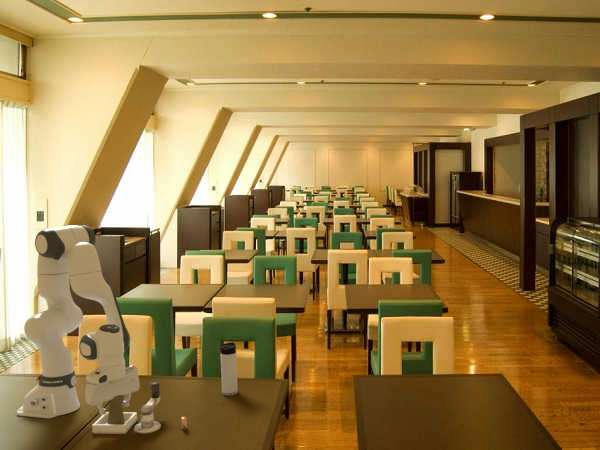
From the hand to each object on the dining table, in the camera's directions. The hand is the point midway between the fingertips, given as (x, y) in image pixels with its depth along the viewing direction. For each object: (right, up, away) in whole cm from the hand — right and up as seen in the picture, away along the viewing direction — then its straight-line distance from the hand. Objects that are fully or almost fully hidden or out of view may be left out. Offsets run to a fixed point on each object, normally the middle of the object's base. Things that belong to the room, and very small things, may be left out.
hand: (114, 410), depth 223 cm
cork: (+1, -6, 0) cm, 6 cm away
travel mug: (+37, -2, +31) cm, 48 cm away
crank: (+12, 0, +3) cm, 13 cm away
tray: (0, -6, +1) cm, 6 cm away
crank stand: (+17, -6, -2) cm, 18 cm away
